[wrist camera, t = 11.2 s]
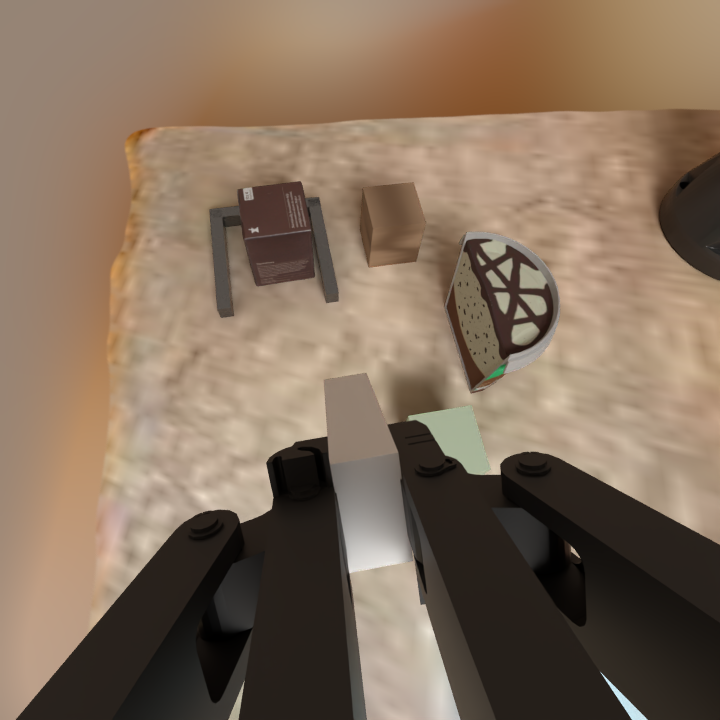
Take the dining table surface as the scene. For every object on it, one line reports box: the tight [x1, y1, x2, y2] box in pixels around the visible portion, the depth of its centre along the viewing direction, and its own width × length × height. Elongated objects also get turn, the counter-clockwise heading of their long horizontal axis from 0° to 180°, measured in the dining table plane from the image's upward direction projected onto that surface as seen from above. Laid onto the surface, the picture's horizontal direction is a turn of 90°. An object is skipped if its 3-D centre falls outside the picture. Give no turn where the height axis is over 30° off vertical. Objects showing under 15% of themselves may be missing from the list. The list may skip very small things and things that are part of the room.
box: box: [237, 181, 315, 286], centre depth 45 cm, size 6×6×7 cm
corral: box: [210, 197, 338, 318], centre depth 48 cm, size 11×12×2 cm
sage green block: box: [406, 405, 491, 475], centre depth 38 cm, size 5×5×6 cm
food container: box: [444, 232, 560, 393], centre depth 41 cm, size 12×6×10 cm, turn 11°
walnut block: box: [360, 182, 426, 267], centre depth 47 cm, size 5×5×6 cm
